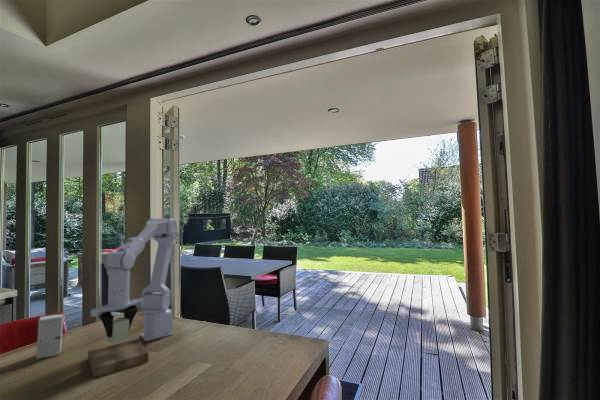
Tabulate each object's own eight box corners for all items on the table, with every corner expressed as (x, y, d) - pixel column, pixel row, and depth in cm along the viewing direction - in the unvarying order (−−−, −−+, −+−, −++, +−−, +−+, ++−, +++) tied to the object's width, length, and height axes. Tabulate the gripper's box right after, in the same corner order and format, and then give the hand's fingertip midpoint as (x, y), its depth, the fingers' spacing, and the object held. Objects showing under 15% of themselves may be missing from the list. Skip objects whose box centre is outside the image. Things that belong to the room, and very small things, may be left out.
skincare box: (35, 359, 94) (37, 320, 94) (38, 354, 98) (39, 316, 98) (60, 354, 97) (61, 316, 98) (62, 349, 101) (63, 313, 102)
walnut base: (137, 346, 103) (137, 338, 103) (148, 361, 92) (148, 352, 92) (87, 359, 93) (88, 351, 94) (93, 377, 83) (93, 368, 83)
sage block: (122, 335, 96) (122, 316, 97) (128, 338, 94) (129, 319, 94) (106, 340, 93) (107, 320, 93) (113, 343, 90) (113, 323, 90)
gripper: (136, 283, 102) (136, 324, 101) (87, 292, 90) (86, 338, 90) (147, 286, 98) (146, 328, 97) (96, 296, 86) (95, 344, 85)
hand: (118, 333), depth 93 cm, fingers closed on sage block, 4 cm apart
